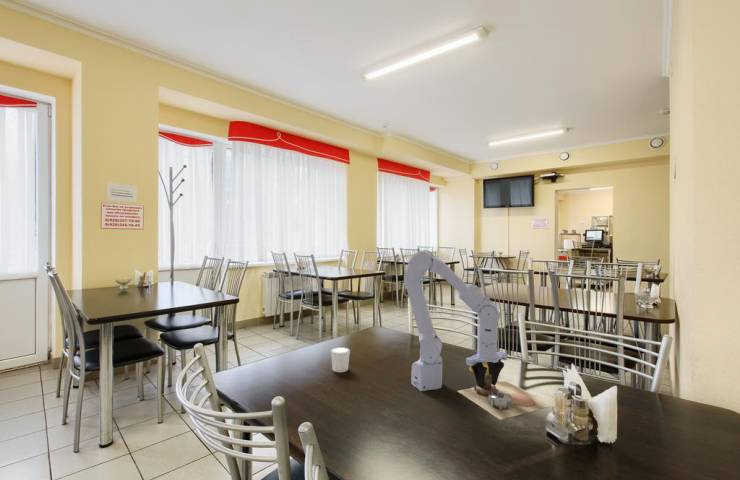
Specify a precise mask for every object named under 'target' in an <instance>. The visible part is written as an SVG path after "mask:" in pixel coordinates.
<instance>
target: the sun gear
mask: <svg viewBox="0 0 740 480" xmlns="http://www.w3.org/2000/svg"><path fill="white" fill-rule="evenodd" d="M488 403H489V404H491V407H492V408H497V409H499V410H501V411H502V410H508V411H509V410H511V407H512V408H513V398H511V395H510V394H506V393H503V392H501V391H500V392H494V391H492V393H491V394H489V399H488Z"/></svg>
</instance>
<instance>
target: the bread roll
mask: <svg viewBox="0 0 740 480" xmlns="http://www.w3.org/2000/svg"><path fill="white" fill-rule="evenodd" d="M482 365H483V366H484V367H486V368H487V370H486V373H488V374H489V370H488V364H487V362H486V363H483V364H482ZM469 372H471V373H474V372H473V370H472V368H471V366H469Z"/></svg>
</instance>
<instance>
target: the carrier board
mask: <svg viewBox="0 0 740 480" xmlns="http://www.w3.org/2000/svg"><path fill="white" fill-rule="evenodd" d="M492 386H494V385H492ZM495 386H496V389H498V392H500V391H501V392H503V393H506V394H511V393H518V394H523V395H526V396H529V397H531V398H532V399H533V400H534V405H533V406H529V407H523V406H518V405H515V404H513V408H512V407H511V410H509V411H508V410H502V411H501V410H499V409H497V408H492V407H491V404H489V403H488V399H489V396H487V397H484V396H483V395H480V394H477V392H476V391H475V390H474V387H470V388H464V389H460V390H457V392H458V393H459V394H460V395H463V396H464V398H467V399H468V400H469V401H472V402H473V403H474V404H476V405H478V406H479V407H480V408H482V409H483V410H484V411H487V412H488V413H489V414H491V415H492V416H493V417H495V418H497V419H498V420H500V421H501V420H505V419H509V418H513V417H516V416H519V415H524V414H528V413H531V412H535V411H539V410H542V409H546V408H550V407H554V406H553V405H554V404H552V403H550V402H547V401H546V400H544V399H543V398H540V397H538V396H536V395H534V394H533V393H530V392H529V391H527V390H525V389H523V388H520V387H519V386H517V385H515V384H513V383H511V382H509V381H507V380H502V381H498V382H496V385H495Z"/></svg>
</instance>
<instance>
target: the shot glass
mask: <svg viewBox="0 0 740 480" xmlns="http://www.w3.org/2000/svg"><path fill="white" fill-rule="evenodd" d="M350 355H351V351H350V349H349V348H348V347H343V346H339V347H337V346H336V347H334V348H332V349H331V350H330V356H331V357H330V358H331V368H332V371H333V372H335V373H344V372H347V371H348V370H349V363H350Z"/></svg>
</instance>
